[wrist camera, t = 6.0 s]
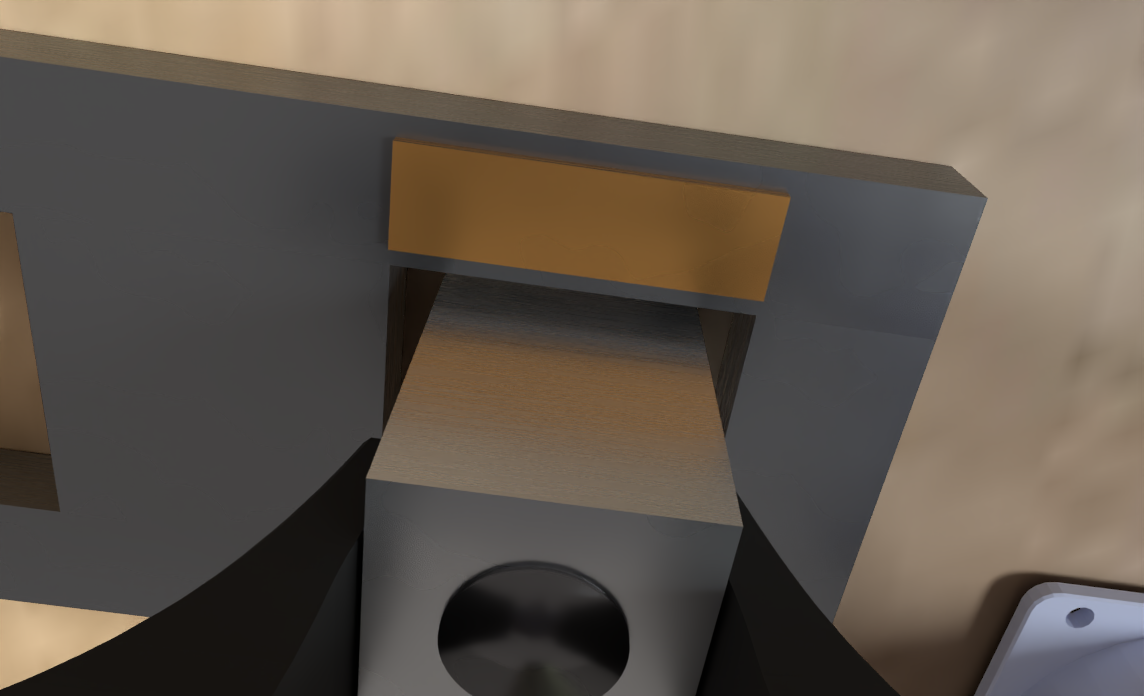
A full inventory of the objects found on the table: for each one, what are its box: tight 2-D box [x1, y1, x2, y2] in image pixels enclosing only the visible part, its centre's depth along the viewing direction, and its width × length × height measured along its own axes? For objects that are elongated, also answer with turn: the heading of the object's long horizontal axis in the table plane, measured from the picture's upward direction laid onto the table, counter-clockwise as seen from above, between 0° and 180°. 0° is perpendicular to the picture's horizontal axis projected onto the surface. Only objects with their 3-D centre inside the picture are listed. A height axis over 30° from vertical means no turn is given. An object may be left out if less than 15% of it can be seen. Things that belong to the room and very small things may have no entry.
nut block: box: [358, 273, 743, 696], centre depth 13 cm, size 4×4×6 cm
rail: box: [0, 29, 988, 623], centre depth 15 cm, size 22×10×2 cm, turn 82°
